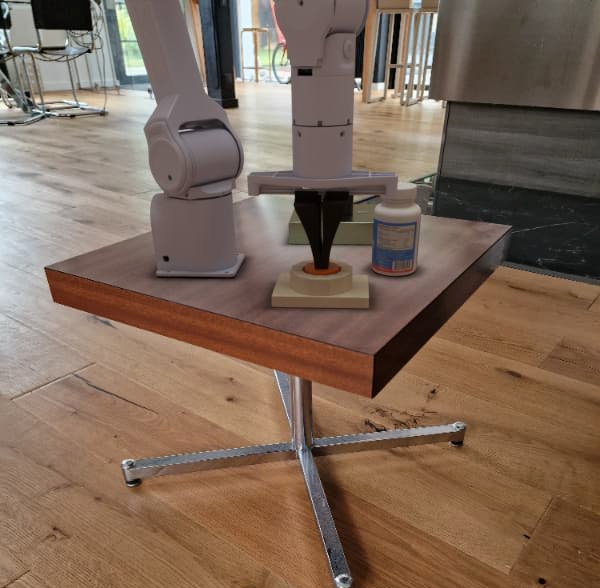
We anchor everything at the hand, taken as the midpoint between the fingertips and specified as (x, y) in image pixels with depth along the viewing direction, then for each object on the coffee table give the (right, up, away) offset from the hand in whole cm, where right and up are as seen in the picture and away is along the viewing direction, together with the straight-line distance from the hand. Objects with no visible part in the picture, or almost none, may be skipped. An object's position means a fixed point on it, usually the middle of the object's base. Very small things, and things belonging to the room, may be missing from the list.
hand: (321, 266), depth 60 cm
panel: (+3, +10, +23) cm, 25 cm away
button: (0, -1, +1) cm, 2 cm away
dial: (+3, +13, +21) cm, 25 cm away
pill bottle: (+9, +1, +9) cm, 13 cm away
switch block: (0, -3, +2) cm, 3 cm away
